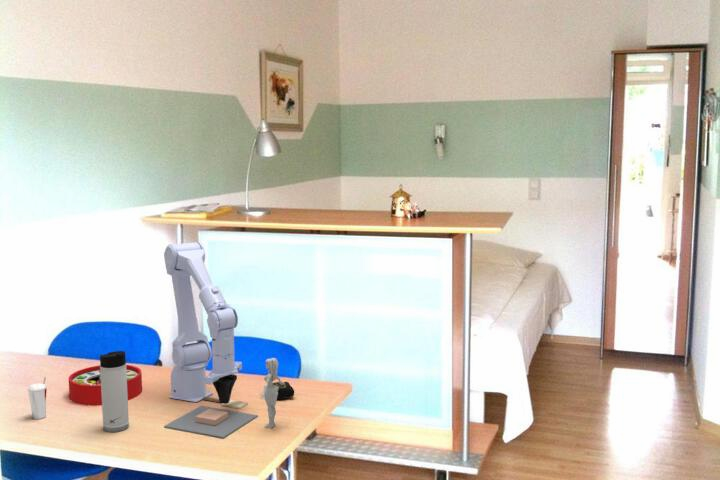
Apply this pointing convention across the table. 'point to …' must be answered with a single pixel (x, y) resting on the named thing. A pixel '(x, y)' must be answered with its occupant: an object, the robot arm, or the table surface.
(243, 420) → the mat
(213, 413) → the tile
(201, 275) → the robot arm
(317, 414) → the table surface
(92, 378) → the toy clock
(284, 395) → the tape measure
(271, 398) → the human figurine
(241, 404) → the turner
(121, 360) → the travel mug
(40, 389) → the milkshake
